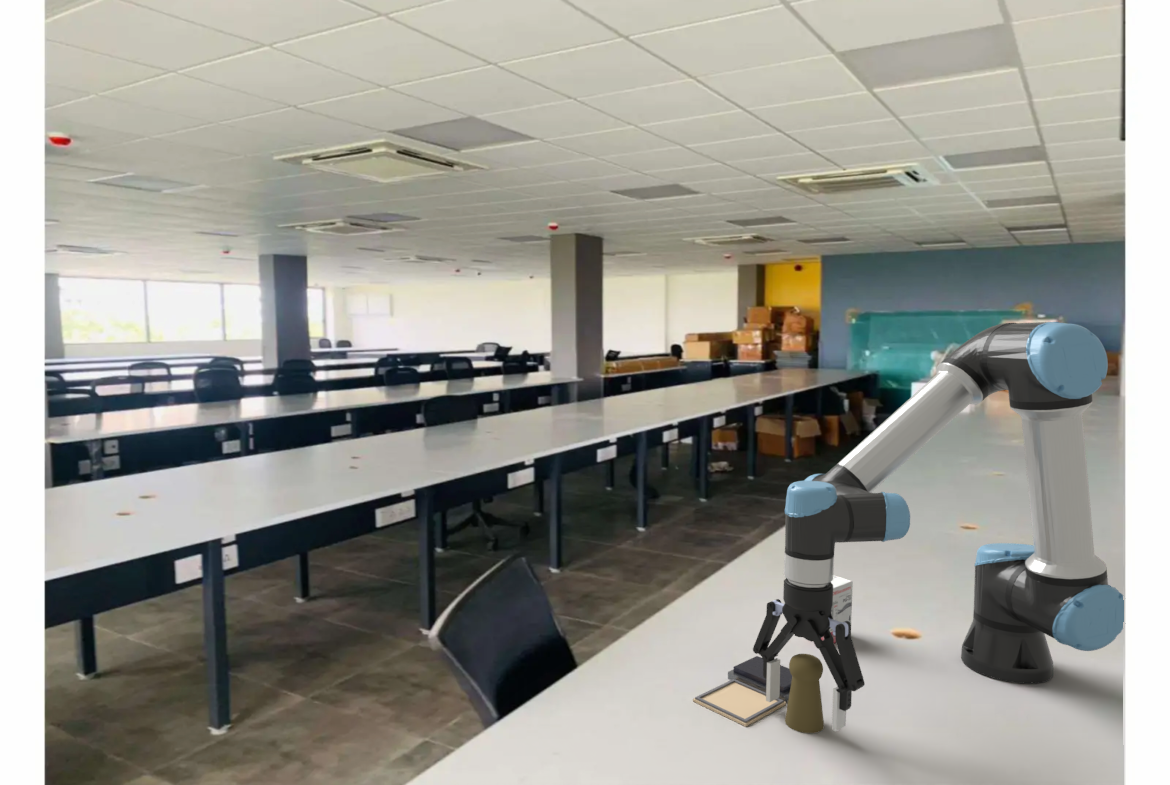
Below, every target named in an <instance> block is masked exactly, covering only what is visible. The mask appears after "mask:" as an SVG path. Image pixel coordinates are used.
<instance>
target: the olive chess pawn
mask: <svg viewBox="0 0 1170 785" xmlns="http://www.w3.org/2000/svg"><path fill="white" fill-rule="evenodd" d="M788 663H789V664H788V668H789V669H790V673H791V675H792V682H791V688H790V693H789V699H788V701H787V705H786V706H787V707H786V712H785V718H784V722H785V725H786V726H787V727H788V728H790V729H791V730H793V731H796V732H798V733H799V732H800V733H803V734H815V733H818V732H821V731H823V730H824V728H825V723H824V722H825V721H824V712H823V704H822V703H823V702H822V695H821V686H820V679H821V678H822V676H823V673H824V667H823V663H822V661H821V659H820V658H818V657H817V656H816V655H812V654H810V653H809V654H808V653H797V654H795V655H793V656H792V657H791V658H790V660H789V662H788Z"/></svg>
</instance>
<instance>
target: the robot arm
mask: <svg viewBox="0 0 1170 785" xmlns="http://www.w3.org/2000/svg"><path fill="white" fill-rule="evenodd" d="M1108 360H1109V359H1108V355H1107V352H1106V349H1105V347H1104V345H1103V343H1102V341H1101V340H1100V338H1099V337H1098V336H1097V335H1096V334H1094V333H1093V332H1091V330H1089V329H1088V328H1086V327H1084V326H1082V325H1080V324H1076V323H1065V322H1059V321H1045V322H1038V321H1037V322H1019V323H1018V322H1005V323H999V324H996V325H993V326H990V327H988V328H985V329H983V330H982V331H980V332H978V333H977V334H975V335H973V336H972V337H971V338H970V339H968V340H966V341H965V342H964V343H962V344H961V345H960V346H959V347H957V348H956V349H955V350H953V351H952V352H951V353H950V354H949V355H947V357H945V359H943V360H942V361H941V362H939V363H938V364H937V366H936V368H935V372H936V374H935V375H934V376H932V378H931V379H930V380H929V381H928V382H926V383H925V384H924V385H923V386H922V387H921V388H919V390H917V392H915V393H914V394H913V395H912V396H911V397H909V399H907V400H906V401H905V402H904V403H903V404H902V405H901V406H900V407H898V408H897V409H896V410H895V411H894V412H893V413H892V414H891V415H890V416H889V417H888V418H886V419H885V420H884V421H883V422H882V423H881V424H880V425H878V426H877V427H876V428H875V429H874V430H873V431H872V432H870V434H869V435H867V436H866V437H865V438H864V439H863V440H862V441H861V442H860V443H858V444H857V446H855V447H854V448H853V449H852V450H850V452H849V453H848V454H847V455H845V456H844V457H843V458H842V459H840V461H839V462H838V463H836V464H835V465H834V466H833V467H832V468H830V470H829V471H827V472H826V473H814V474H812V475H809V476H807V477H806V478H805V479H804V480H798V481H794V482H791V483H790V484H789V486H788V487H787V490H786V497H785V508H784V514H785V522H784V523H785V526H784V529H785V534H784V535H785V536H784V537H785V538H784V541H785V542H784V559H783V576H784V578H785V579H783V592H782V593H783V594H782V595H783V597H782V598H783V602H784V603H782V601H781V600H780V599H779V598H776V599H774V600H772V601H768V602H767V603H766V611H765V612H766V615H765V618H764V620H763V622H762V625H761V628H760V630H759V632H758V635H757V638H756V639H755V642H754V645H753V647H752V651H753V653H754V654H756V655H757V654H758V655H759V656H760V657H761V658H762V659H763V676H764V678H766V679H767V682H766V701H768V702H771V701H773V700H775V699H777V698H779V696H780V665H781V659H780V658H777V657H778V656H779V653H780V652H781V651H782V649H783V648H784V647H785V646H786V644H788V642H789V641H790V639H792V637H793V636H795V637H798V638H803V639H805V640H807V641H808V642H809V641H810V642H812V643H813V644H814V646H815V647H816V648H817V649H818V650H819V651H820V653H821V656H822V658H823V660H824V662H825V664H826V666H827V668H828V669H829V672H830V674H831V676H832V678H833V680H834V682H835V683H836V686H835V687H834V688H833V689H832V709H831V710H832V712H831V713H832V715H831V716H832V717H831V730H832V731H834V732H838V731H840V730H841V729H843V728H844V727H846V725H847V724H846V722H847V711H848V710H849V709H851V707H852V697H853V693H852V692H857V691H858V690H860V689H861V688H863V687H864V686H865V683H866V682H865V679H864V676H863V674H862V670H861V666H860V663H859V659H858V656H857V655H858V654H857V653H856V649H855V646H854V643H853V639H852V623H851V624H850V622H849V621H845V622H840V621H836V620H833V617H832V614H831V609H832V605H833V584H832V583H831V581H832V580H833V575H834V568H835V567H834V565H835V563H834V562H835V547H836V544H837V543H838V544H839V543H857V542H859V543H862V542H865V543H866V542H881V543H884V542H889V541H896V540H900V539H903V538H904V537H905V536H906V535H907V533H908V532H909V529H910V525H911V512H910V509H909V508H910V507H909V504H908V503H907V501H906V499H905V498H904V497H903V496H901V494H898V493H895V492H894V493H893V492H885V491H881V492H877V493H876V492H874V491H875V490H876V489H877V488H878V487H880V485H881V484H883V483H884V481H886V480H887V479H889V477H890V476H892V475H893V474H894V473H895V472H896V471H897V470H899V468H900V467H902V466H903V465H904V464H905V463H906V462H907V461H909V459H910V458H912V456H914V455H915V454H916V453H917V452H919V451H920V449H922V448H923V447H924V446H925V445H926V444H927V443H928V442H929V441H931V439H933V438H934V437H935V436H936V435H937V434H938V433H940V432H941V431H942V430H943V429H944V428H945V427H946V426H947V425H948V424H949V423H950V422H952V421H953V420H954V419H955V418H956V417H957V416H959V415H960V414H961V412H963V411H964V410H965V409H966V408H967V407H968V406H970V405H975V406H976V405H979V404H981V403H982V402H983V401H984V400H985V399H986V398H987V397H989V396H990V395H992V394H994V393H997V392H1000V391H1008V400H1009V408H1010V410H1012V411H1013V412H1014V413H1016V414H1017V415H1018V416H1020V418H1021V426H1022V427H1021V428H1022V436H1023V446H1024V447H1023V448H1024V457H1025V458H1024V459H1025V468H1026V470H1025V471H1026V480H1027V490H1028V491H1027V492H1028V501H1029V511H1030V520H1031V532H1032V542H1033V543H1032V544H1026V543H1025V544H1024V543H1013V542H1012V543H1009V542H1008V543H1007V542H1001V543H1000V542H998V543H997V542H993V543H987V544H983V545H981V546H979V548H977V551H976V555H975V556H976V557H975V563H974V590H973V591H974V592H973V593H974V594H973V614H972V617H973V618H972V622H971V623H970V626H969V629H968V631H967V633H966V635H965V637H964V640H963V642H962V644H961V655H960V658H961V661H962V663H964V665H965V666H967V667H968V668H969V669H971V670H973V671H974V672H976V673H979V674H981V675H983V676H986V677H988V678H992V679H996V680H999V681H1005V682H1009V683H1010V682H1011V683H1014V684H1015V683H1017V684H1040V683H1045V682H1048V681H1049V680H1051V679H1052V678H1053V676H1054V661H1053V656H1052V655H1051V651H1050V648H1049V644H1048V641H1047V638H1046V636H1049V637H1051V638H1052V639H1054V640H1056V641H1057V643H1060V644H1062V645H1065V646H1069V647H1070V648H1073V649H1074V650H1075V649H1076V650H1078V651H1083V652H1093V651H1098V650H1100V649H1102V648H1105V647H1107V646H1108V645H1110V644H1111V643H1112V642H1114V641H1115V640H1116V639H1117V636H1119V634H1121V633H1122V631H1123V629H1124V628H1123V622H1124V600H1123V596H1124V595H1123V594H1122V593H1121V592H1120V591H1119V590H1118V589H1117V588H1116V587H1114V586H1111V585H1110V584H1109V581H1108V580H1109V579H1108V570H1107V564H1106V563H1105V561H1104V560H1102V559H1101V558H1100V557H1098V556H1097V555H1096V554H1095V544H1094V535H1093V534H1094V533H1093V522H1092V521H1093V520H1092V512H1091V499H1090V487H1089V477H1088V476H1089V474H1088V464H1087V453H1086V451H1087V450H1086V440H1085V431H1084V430H1085V429H1084V420H1083V417H1084V416H1083V414H1084V412H1086V410H1087V409H1088V408H1090V407H1091V406H1092V405H1093V394H1094V393H1096V392H1097V391H1098V390H1099V389H1100V387H1101V386H1102V385H1103V382H1102V380H1105V379H1106V376H1107V373H1108V367H1109V366H1108V365H1109V364H1108ZM781 615H783V616H784V618H785V621H786V623H785V624H784V625H783V627H782V628H781V629H780V631H779V633H778V634H777V636H776V637H775V638H774V639H773V640H772V637H773V635H774V633H775V631H776V628H777V626H778V623H779V620H780V618H781ZM830 628H832V629H833V635H834V636H835V638H836V642H835V643H836V645H835V643H834V639H833V637H832V635H831V633H830V631H829V629H830ZM822 637H824V640H823V641H822V640H821V638H822ZM771 641H772V642H771ZM836 646H837V647H836Z"/></svg>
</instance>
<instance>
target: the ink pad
mask: <svg viewBox="0 0 1170 785" xmlns="http://www.w3.org/2000/svg"><path fill="white" fill-rule="evenodd" d="M727 679H728V680H732V679H735V680H738V681H740V682H742V683H745V684H747V685H749V686H752V687H754V688H756V689H759V690H761V691H763V692H766V682H767V679H766V678H764V676H763V659H762V656H758V655H756V656H754V657H751V658H749V659H748V660H745V661H743V662H741V663H738V664H736V665H735V666H733V669H731V670H729V671H727ZM791 682H792V675H791V673H790V669H789V667H786V666H784V665H781V664H780V696H779V698H780V699H782V700H784V702H786V703H788V699H789V693H790V688H791Z"/></svg>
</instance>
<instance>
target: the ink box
mask: <svg viewBox="0 0 1170 785" xmlns="http://www.w3.org/2000/svg"><path fill="white" fill-rule="evenodd" d="M853 582H854V581H853V580H850V579H846V578H844V577H842V576H841V577H840V576H837V575H835V574H833V580H832V581H831V583H832V584H833V605H832V609H831V614H832V617H833V620H836V621H840V622H845V621H849V622H850V624H851V625H852V614H853V612H852V610H853V607H852V606H853V586H854V585H853ZM829 631H830V633H831V635H832V637H833V639H834V644H835V643H836V638H835V636H834V635H833V629H832V628H830V629H829ZM821 640H822V641H823V640H824V637H822V638H821Z"/></svg>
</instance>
